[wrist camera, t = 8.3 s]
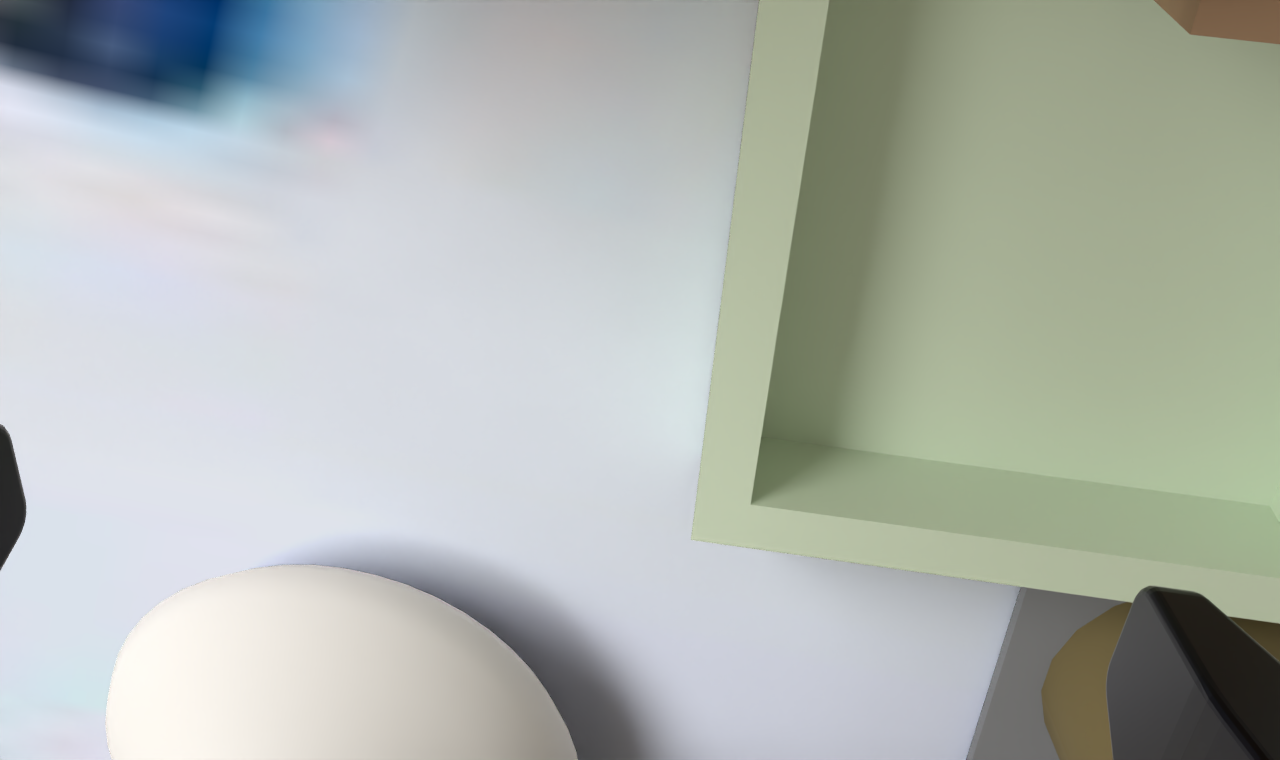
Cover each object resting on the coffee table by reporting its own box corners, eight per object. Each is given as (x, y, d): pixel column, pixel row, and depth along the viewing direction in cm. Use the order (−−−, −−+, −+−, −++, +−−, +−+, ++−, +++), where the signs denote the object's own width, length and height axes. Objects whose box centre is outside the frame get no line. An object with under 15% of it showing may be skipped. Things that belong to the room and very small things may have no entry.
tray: (1299, 544, 24) (1348, 633, 21) (702, 462, 25) (691, 539, 22) (1744, -418, 15) (1898, -434, 13) (823, -491, 16) (825, -517, 14)
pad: (1306, 832, 28) (1312, 846, 27) (959, 778, 28) (962, 791, 28) (1454, 565, 24) (1464, 579, 23) (1045, 509, 24) (1048, 521, 24)
